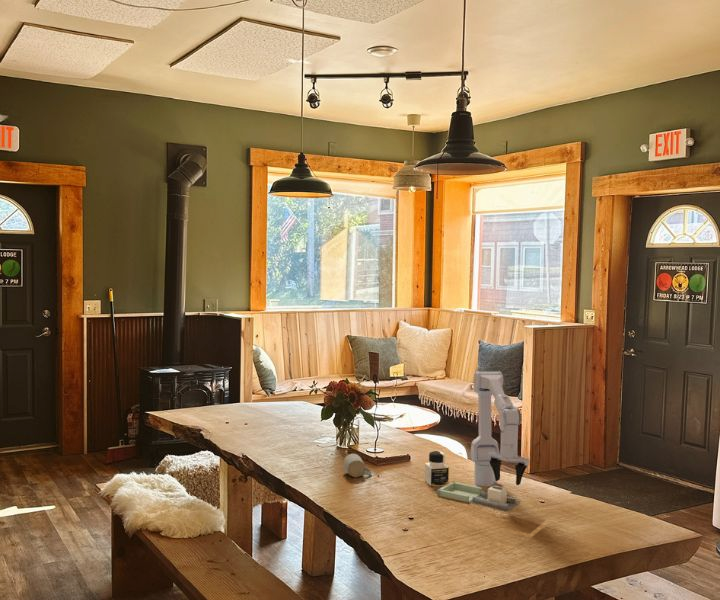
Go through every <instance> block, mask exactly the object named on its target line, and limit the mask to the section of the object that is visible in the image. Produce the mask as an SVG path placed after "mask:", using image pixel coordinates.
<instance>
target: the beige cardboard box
mask: <svg viewBox="0 0 720 600" xmlns="http://www.w3.org/2000/svg"><path fill="white" fill-rule="evenodd" d="M487 492H488V500H492V501H497V502H501V503H506V502H507V495H508V489H507V487H502V486H498V485H492V486H489V488H487Z"/></svg>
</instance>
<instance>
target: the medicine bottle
mask: <svg viewBox="0 0 720 600" xmlns="http://www.w3.org/2000/svg"><path fill="white" fill-rule="evenodd" d="M428 454H429V455H428V462H425V463H424V482H425V483H427V484H428V485H429V486H430V487H440V485H443V486H445V485H447V484H449V474H450V473H449V471H450V467H449V466H448V465H446V454H445V452H443V451H440V450H434V451H433V450H432V451H430V452H429V453H428Z"/></svg>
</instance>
